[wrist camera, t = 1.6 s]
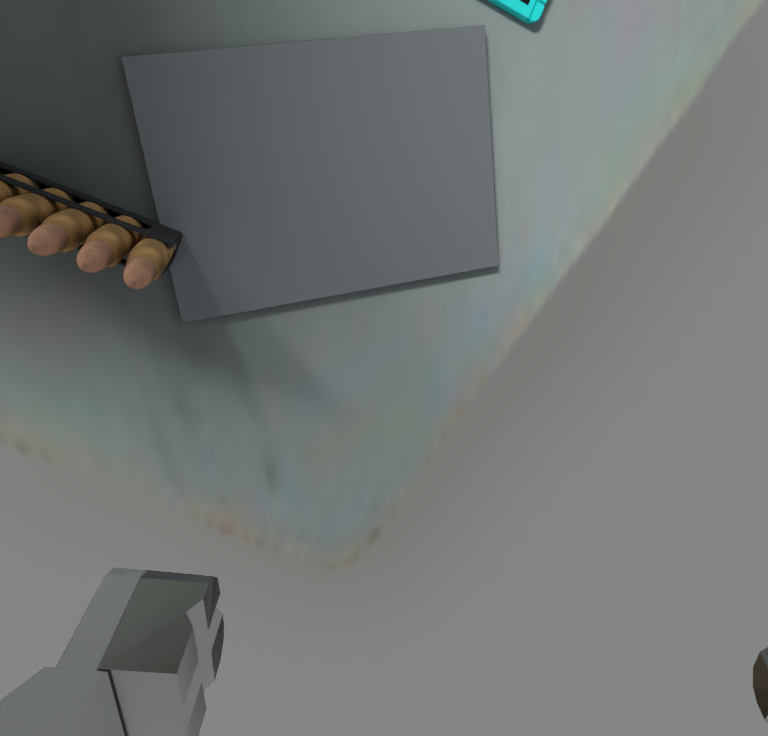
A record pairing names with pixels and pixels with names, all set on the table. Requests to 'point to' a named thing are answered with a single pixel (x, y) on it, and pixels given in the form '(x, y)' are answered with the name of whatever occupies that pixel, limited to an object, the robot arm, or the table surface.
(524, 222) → the table surface
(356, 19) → the table surface
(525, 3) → the handheld game console
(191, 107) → the rubber mat
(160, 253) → the ammunition clip
